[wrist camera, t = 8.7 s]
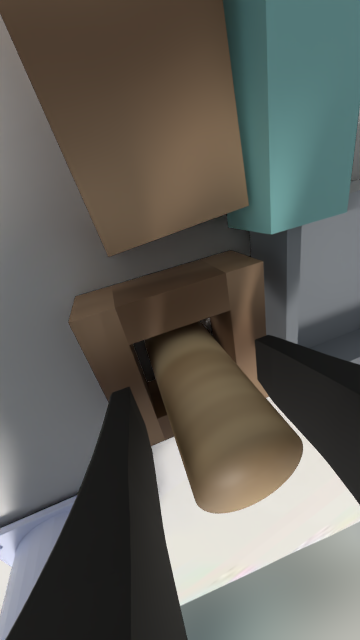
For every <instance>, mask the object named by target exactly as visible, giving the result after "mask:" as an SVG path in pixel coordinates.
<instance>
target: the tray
mask: <svg viewBox="0 0 360 640" xmlns="http://www.w3.org/2000/svg"><path fill="white" fill-rule="evenodd" d="M249 232H250V248H251V257H252V258H255V259H258V260H261V261H263V267H264V292H265V317H266V335H272V336H275V337H278V338H281V339H284V340H287V341H290V342H293V343H295V344H298V345H301V346H304V347H307V348H310V349H313V350H315V351H318V352H321V353H324V354H327V355H330V356H333V357H336V358H340V359H343V360H346V361H349V362H353V363H356V364H359V365H360V179H359V180H355V181H351V183H350V191H349V200H348V208H347V212H346V213H343V214H339V215H336V216H333V217H329V218H326V219H322V220H319V221H316V222H312V223H309V224H305V225H302V226H299V227H295V228H292V229H288V230H285V231H282V232H278V233H275V234H265V233H259V232H253V231H249Z"/></svg>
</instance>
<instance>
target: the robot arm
mask: <svg viewBox="0 0 360 640" xmlns="http://www.w3.org/2000/svg"><path fill="white" fill-rule="evenodd" d="M255 352H256V367H257V380H258V381H259V382H260V384H261V385H262V387H263V388H264V390H265V391H266V393H267V394H268V395H269V397H270V398H271V399H272V401H273V402H274V403H275V404H276V405H277V407H278V408H279V409H280V410H281V411H282V412H283V413H284V414H285V415H286V417H287V418H288V419H289V420H290V421H291V422H292V423H293V424H294V425H295V426H296V428H297V429H298V430H299V431H300V432H301V433H302V434H303V435H304V436H305V437H306V439H307V440H308V441H309V442H310V443H311V444H312V445H313V446H314V447H315V448H316V449H317V451H318V452H319V453H320V454H321V455H322V456H323V458H324V459H325V460H326V461H327V462H328V464H329V465H330V466H331V467H332V469H333V470H334V471H335V473H336V474H337V475H338V476H339V478H340V479H341V480H342V482H343V483H344V484H345V486H346V487H347V488H348V490H349V491H350V492H351V493H352V495H353V496H354V498H355V499H356V500H357V502H358V503H359V504H360V365H359V364H356V363H353V362H349V361H346V360H343V359H340V358H336V357H333V356H330V355H327V354H324V353H321V352H318V351H315V350H313V349H310V348H307V347H304V346H301V345H298V344H295V343H293V342H290V341H287V340H284V339H281V338H278V337H275V336H272V335H266V336H263V337H261V338H258V339H255ZM0 560H2V561H3V562H5V563H6V564H8V565H9V566H11V567H12V569H11V573H10V577H9V581H8V585H7V590H6V594H5V598H4V602H3V606H2V610H1V614H0V640H187V635H186V631H185V626H184V622H183V617H182V613H181V609H180V604H179V600H178V595H177V591H176V587H175V582H174V578H173V573H172V569H171V564H170V560H169V555H168V550H167V546H166V541H165V535H164V529H163V523H162V516H161V509H160V502H159V495H158V488H157V481H156V474H155V467H154V460H153V453H152V449H151V445H150V440H149V436H148V432H147V428H146V425H145V422H144V420H143V417H142V415H141V413H140V410H139V408H138V406H137V403H136V401H135V399H134V396H133V394H132V391H131V389H130V387H126V388H124V389H121V390H118V391H115V392H113V393H112V394H111V396H110V399H109V404H108V408H107V411H106V415H105V419H104V422H103V425H102V429H101V432H100V435H99V438H98V441H97V444H96V447H95V450H94V453H93V456H92V458H91V461H90V464H89V466H88V469H87V472H86V474H85V477H84V479H83V482H82V484H81V487H80V490H79V492H78V494H77V495H76V496H74V497H72V498H69V499H67V500H65V501H62V502H60V503H58V504H55V505H53V506H51V507H48V508H46V509H44V510H41V511H39V512H37V513H35V514H32V515H30V516H28V517H25V518H23V519H21V520H18V521H16V522H14V523H11V524H9V525H7V526H4V527H2V528H0Z"/></svg>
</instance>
